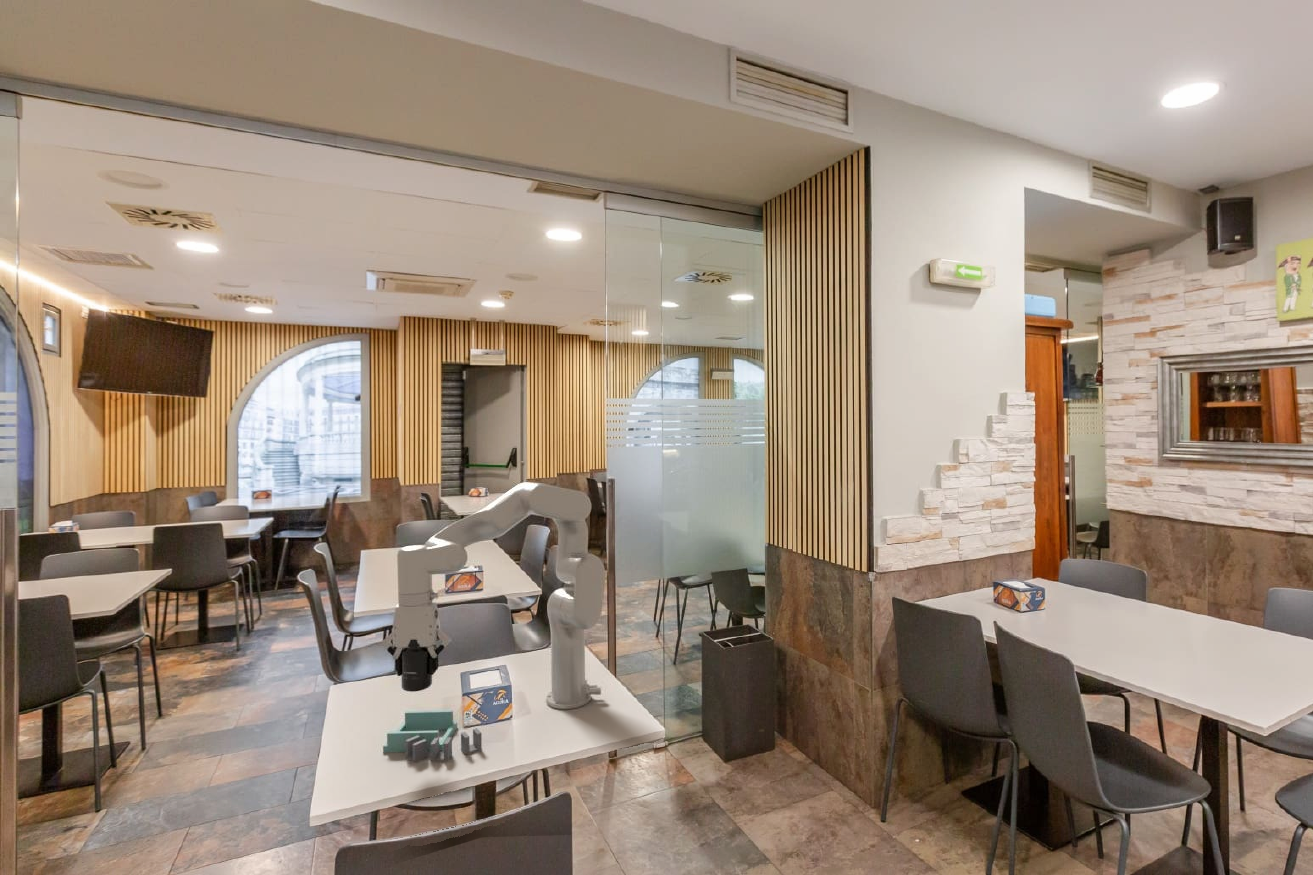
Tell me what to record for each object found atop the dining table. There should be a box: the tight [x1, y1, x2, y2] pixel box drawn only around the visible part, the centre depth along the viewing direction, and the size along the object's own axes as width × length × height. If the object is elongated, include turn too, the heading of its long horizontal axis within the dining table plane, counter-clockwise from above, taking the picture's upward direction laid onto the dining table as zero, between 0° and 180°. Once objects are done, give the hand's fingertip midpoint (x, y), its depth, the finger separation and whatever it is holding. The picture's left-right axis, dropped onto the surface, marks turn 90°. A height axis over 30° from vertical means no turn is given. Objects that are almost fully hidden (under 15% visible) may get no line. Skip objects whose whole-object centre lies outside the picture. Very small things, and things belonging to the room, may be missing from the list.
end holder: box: [382, 709, 458, 753], centre depth 154 cm, size 14×12×4 cm
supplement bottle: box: [400, 639, 433, 693], centre depth 146 cm, size 7×7×12 cm
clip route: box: [405, 727, 483, 764], centre depth 146 cm, size 17×8×4 cm, turn 91°
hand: (417, 672), depth 147 cm, fingers closed on supplement bottle, 6 cm apart
